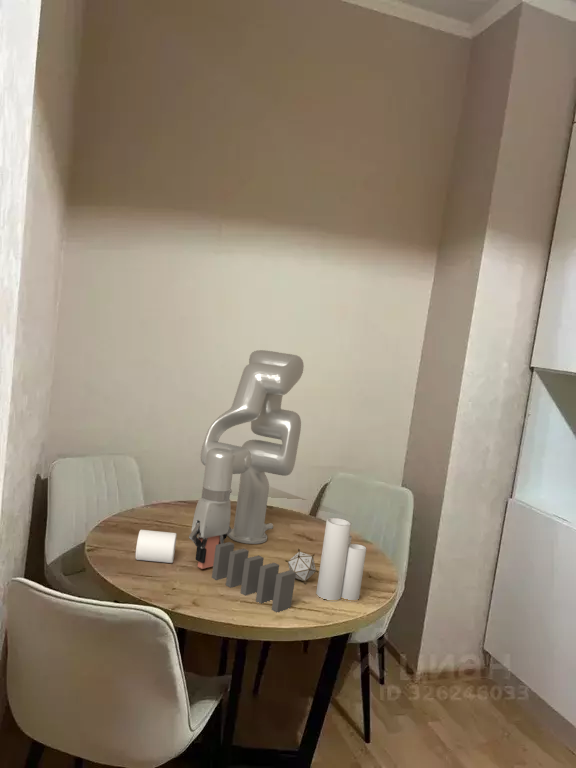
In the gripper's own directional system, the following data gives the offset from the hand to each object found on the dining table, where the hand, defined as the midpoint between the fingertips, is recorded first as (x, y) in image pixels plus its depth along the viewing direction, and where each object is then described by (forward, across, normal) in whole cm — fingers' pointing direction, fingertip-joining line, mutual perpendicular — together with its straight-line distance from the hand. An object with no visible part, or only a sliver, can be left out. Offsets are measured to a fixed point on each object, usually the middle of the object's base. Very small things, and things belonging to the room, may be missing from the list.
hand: (207, 559), depth 175 cm
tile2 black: (+3, 0, +6) cm, 7 cm away
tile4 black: (+3, 0, +17) cm, 17 cm away
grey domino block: (+3, 0, +28) cm, 28 cm away
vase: (+3, -19, +30) cm, 36 cm away
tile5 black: (+3, 0, +22) cm, 23 cm away
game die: (+3, -18, +18) cm, 26 cm away
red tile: (+2, 0, 0) cm, 2 cm away
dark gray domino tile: (+3, 0, +12) cm, 12 cm away
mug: (+3, +7, -14) cm, 16 cm away
